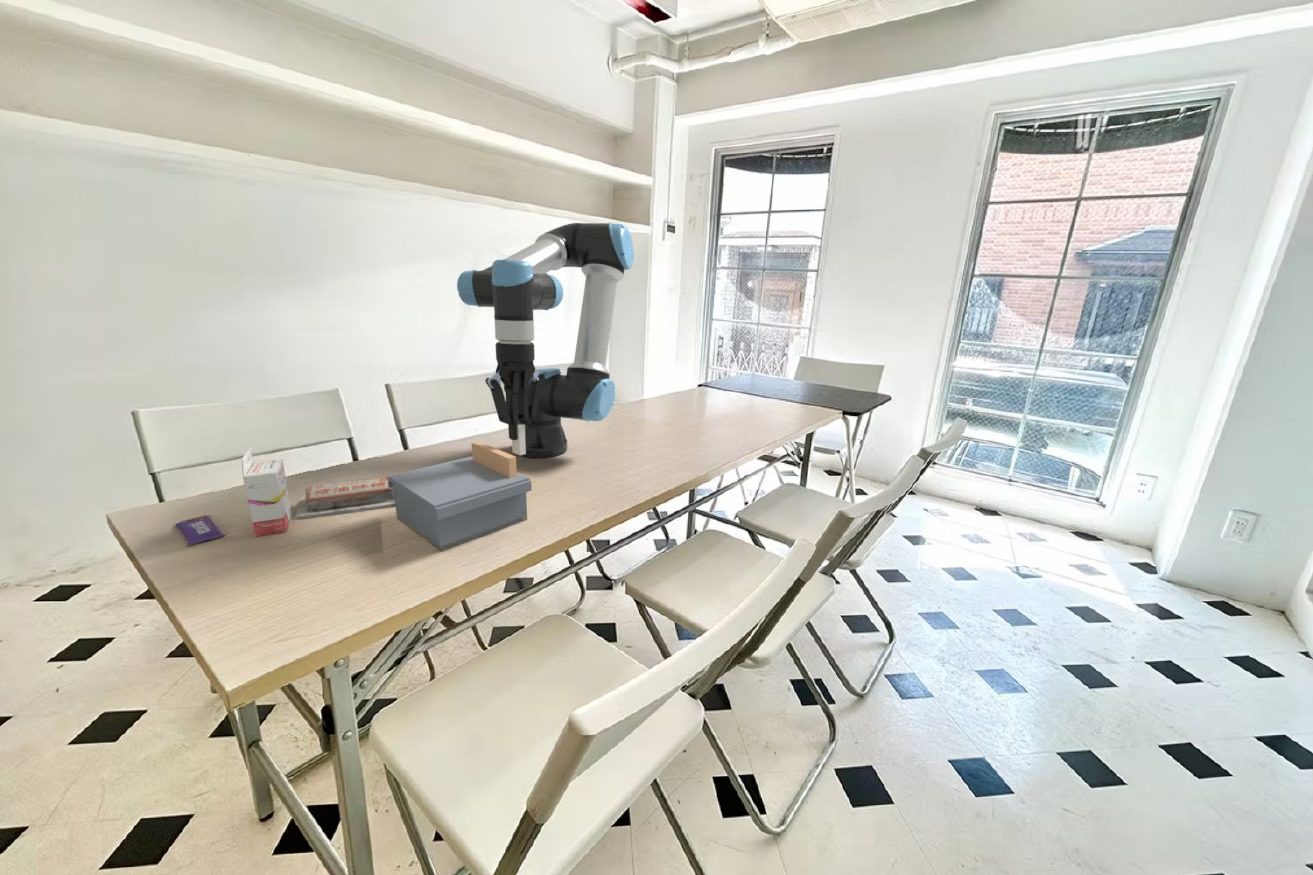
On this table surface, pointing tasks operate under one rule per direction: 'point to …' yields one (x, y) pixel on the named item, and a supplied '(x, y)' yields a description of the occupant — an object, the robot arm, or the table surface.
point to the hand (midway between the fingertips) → (519, 453)
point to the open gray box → (458, 519)
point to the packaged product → (346, 498)
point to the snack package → (199, 529)
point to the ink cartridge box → (266, 494)
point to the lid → (464, 481)
